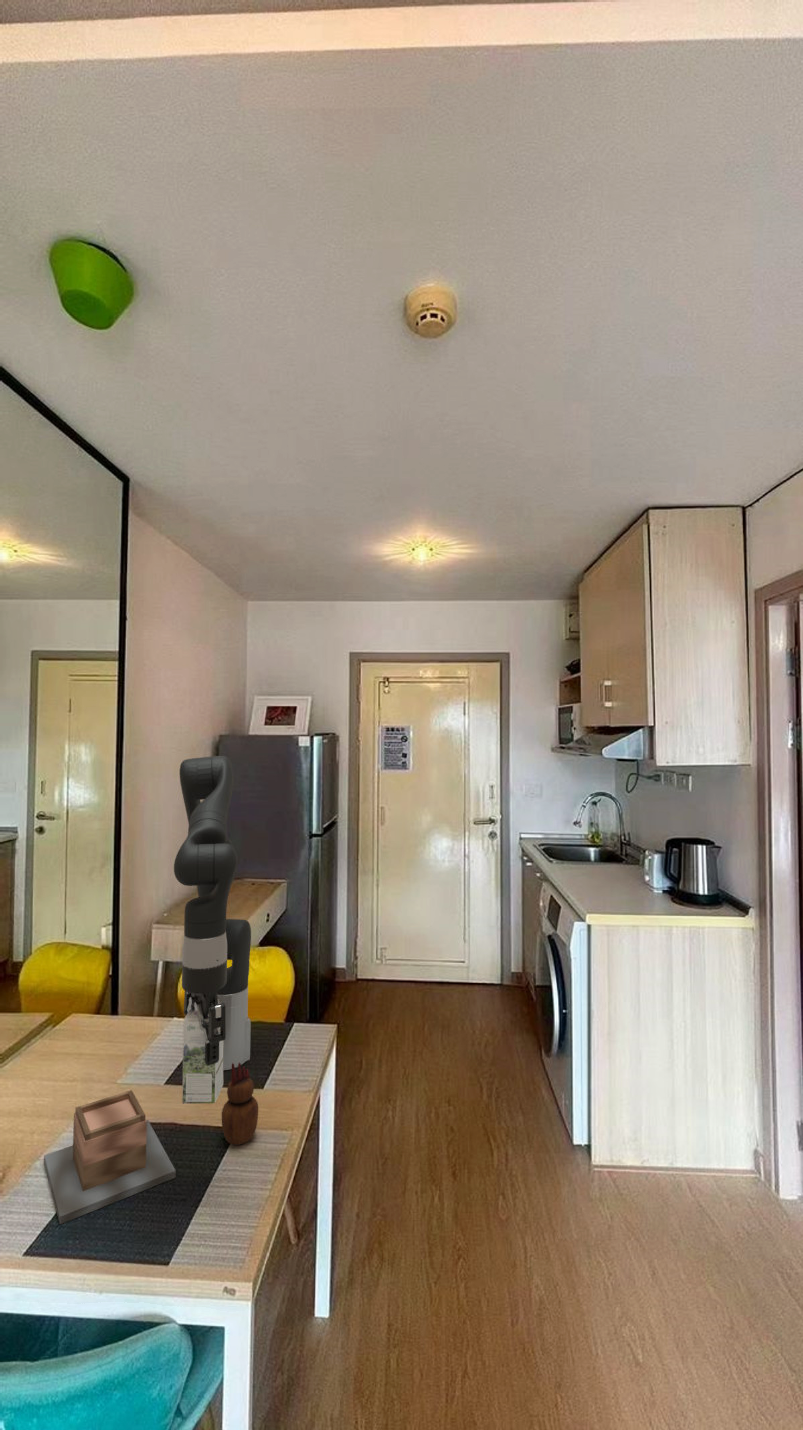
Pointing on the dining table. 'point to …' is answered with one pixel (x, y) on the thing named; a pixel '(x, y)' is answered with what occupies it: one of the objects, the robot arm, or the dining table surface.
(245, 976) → the robot arm
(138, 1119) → the tower base
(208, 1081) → the syrup box
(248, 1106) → the wooden figurine
